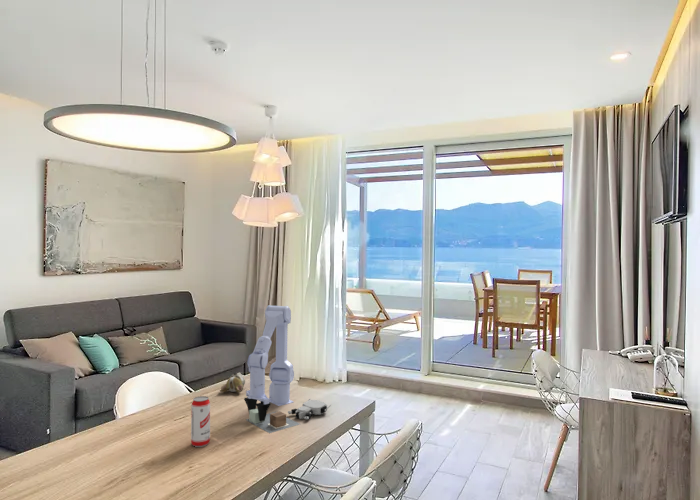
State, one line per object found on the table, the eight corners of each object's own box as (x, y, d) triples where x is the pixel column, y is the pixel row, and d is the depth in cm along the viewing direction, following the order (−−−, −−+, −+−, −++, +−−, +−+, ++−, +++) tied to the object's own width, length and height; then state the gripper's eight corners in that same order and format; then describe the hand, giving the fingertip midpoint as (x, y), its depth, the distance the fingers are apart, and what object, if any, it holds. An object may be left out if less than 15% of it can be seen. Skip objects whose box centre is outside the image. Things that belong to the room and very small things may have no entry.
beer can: (213, 442, 165) (214, 396, 165) (202, 449, 159) (202, 402, 159) (198, 439, 167) (199, 394, 167) (187, 446, 161) (187, 400, 161)
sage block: (249, 420, 185) (249, 410, 185) (259, 417, 188) (259, 407, 188) (255, 423, 182) (255, 413, 182) (265, 420, 185) (265, 410, 185)
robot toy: (307, 426, 183) (332, 413, 195) (307, 415, 183) (332, 402, 194) (285, 419, 191) (311, 406, 202) (285, 408, 190) (310, 396, 202)
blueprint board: (245, 420, 186) (245, 419, 186) (275, 412, 195) (275, 411, 195) (269, 434, 173) (269, 432, 173) (300, 425, 182) (300, 423, 182)
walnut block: (269, 424, 181) (270, 413, 181) (279, 421, 184) (279, 411, 184) (276, 427, 178) (276, 417, 178) (286, 424, 181) (286, 414, 181)
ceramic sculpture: (249, 369, 232) (240, 379, 217) (250, 386, 232) (240, 397, 217) (228, 368, 232) (218, 378, 217) (229, 385, 233) (218, 397, 218)
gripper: (239, 381, 188) (239, 415, 188) (258, 389, 177) (257, 425, 177) (254, 378, 192) (254, 411, 192) (274, 386, 182) (273, 421, 182)
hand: (257, 417), depth 185 cm, fingers open, 7 cm apart
